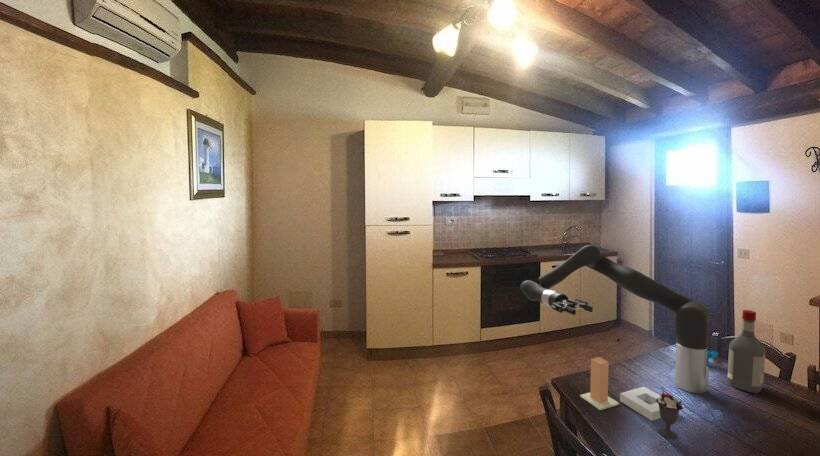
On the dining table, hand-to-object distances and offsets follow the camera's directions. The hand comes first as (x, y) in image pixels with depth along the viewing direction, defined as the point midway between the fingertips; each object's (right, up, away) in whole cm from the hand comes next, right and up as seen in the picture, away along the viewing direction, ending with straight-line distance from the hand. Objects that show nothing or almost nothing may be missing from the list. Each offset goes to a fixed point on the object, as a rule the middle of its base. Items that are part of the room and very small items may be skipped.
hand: (583, 311), depth 135 cm
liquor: (+61, -29, -3) cm, 68 cm away
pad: (+1, -31, -9) cm, 32 cm away
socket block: (+16, -31, -14) cm, 37 cm away
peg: (+1, -30, -9) cm, 32 cm away
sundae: (+13, -32, -28) cm, 44 cm away
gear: (+60, -27, +15) cm, 68 cm away
